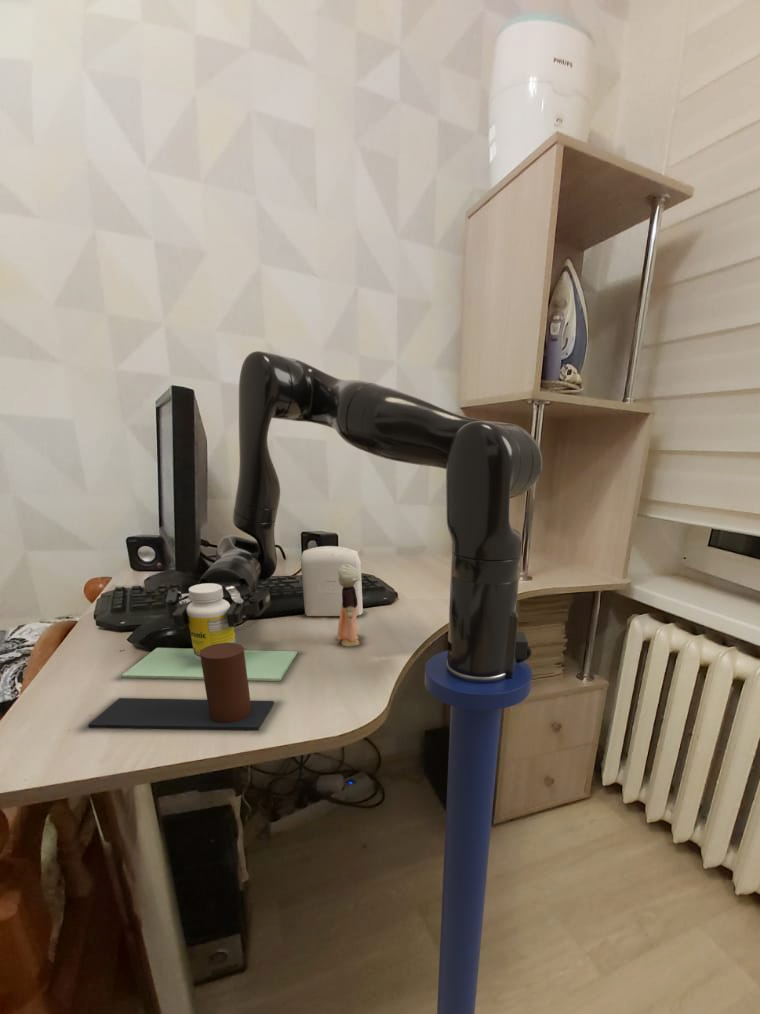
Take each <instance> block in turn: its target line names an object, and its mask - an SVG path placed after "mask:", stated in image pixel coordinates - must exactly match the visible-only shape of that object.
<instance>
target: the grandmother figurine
mask: <svg viewBox="0 0 760 1014" xmlns="http://www.w3.org/2000/svg"><path fill="white" fill-rule="evenodd" d="M338 574H339V583H340V585H341V586H343V589H342V609H341V613H340V616H339V619H338V626H337V639H338V640H342V641H341V645H342V646H343V647H356V646H359V645H360V641H359V638H360V637H359V635H358V625H357V605H358V604H357V597H356V591H355V588H354V587H353V586H354V585H355V583H356V581H359V580H360V578H361V579H362V575H361V576H360V574H359V573H358V571H357V569H356V568H354V567H353V566H351V565H348V564H344V565H342V566H340V568H339V569H338Z"/></svg>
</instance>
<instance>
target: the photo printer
mask: <svg viewBox="0 0 760 1014" xmlns="http://www.w3.org/2000/svg"><path fill="white" fill-rule="evenodd" d="M361 562H362V561H361V559H360V557H359V553H358V551H357V550H354V549H351V548H348V547H343V546H336V545H324V546H316V547H311V548H308V549H305V550H303V551H302V554H301V559H300V568H301V569H300V571H301V583H302V595H303V605H304V614H305V615H306V616H307V617H340V613H341V609H342V589H343V586H341V585H340V583H339V574H338V569H339V568H340V566H342V565H344V564H348V565H351V566H353V567H354V568H356V569H357V571H358V573H359V574H360V576H361V578H360V580H359V581H356V583H355V585H354V586H353V587H354V588H355V591H356V597H357V604H358V605H357V616H361V615H362V614H363V613H364V608H363V586H362V585H363V584H362V564H361Z"/></svg>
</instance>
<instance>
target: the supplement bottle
mask: <svg viewBox="0 0 760 1014" xmlns="http://www.w3.org/2000/svg"><path fill="white" fill-rule="evenodd" d="M188 593H189V595H190V599H191V601H193V602H192V603H190V604H189V605H188V606H187V610H186V611H187V617H188V623H189V624H188V628H189V633H190V639H191V644H192V649H193V651H194V655H195V657H196V658H197V659H199V660H201V658H200V651H201V650H202V649H203V648H205V647H207V646H210V645H214V644H219V643H236V644H237V640H236V634H235V627H229V626H228V620H227V611H228V609H229V608H230V604H229V602H227V601H226V600H224V599H222V598H223V590H222V586H221V585H219V584H212V583H206V584H198V583H197V584H195V585H191V586H190V587H188Z"/></svg>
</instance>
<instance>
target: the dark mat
mask: <svg viewBox="0 0 760 1014" xmlns="http://www.w3.org/2000/svg"><path fill="white" fill-rule="evenodd" d="M250 702H251V713H250V714H249V715H248V716H247V717H245V718H243V719H241V720H238V721H234V722H227V723H222V722H216V721H214V720H212V719H211V718H210V714H209V708H208V701H207V699H192V698H191V699H188V698H187V699H186V698H139V697H138V698H135V697H134V698H133V697H132V698H131V697H119V698H117V700H116V701H114V702H113V703H112V704H110V705H109V706H108V707H107V708H106V709H104V710H103V711H102V712H101V713H100V714H98V716H97V717H95V718H93V720H91V721H90V722H89V723H88V724H87V727H88V728H89V729H150V730H151V729H158V730H159V729H160V730H224V731H225V730H226V731H227V730H229V731H230V730H231V731H235V730H236V731H258V730H259V729H260V728H261V727H262V726H261V725H263V723H264V721H265V720H266V718H267V716H268V715H269V713H270V711H271V710H272V708H273V707H274V704H275V701H274V700H250Z"/></svg>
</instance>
